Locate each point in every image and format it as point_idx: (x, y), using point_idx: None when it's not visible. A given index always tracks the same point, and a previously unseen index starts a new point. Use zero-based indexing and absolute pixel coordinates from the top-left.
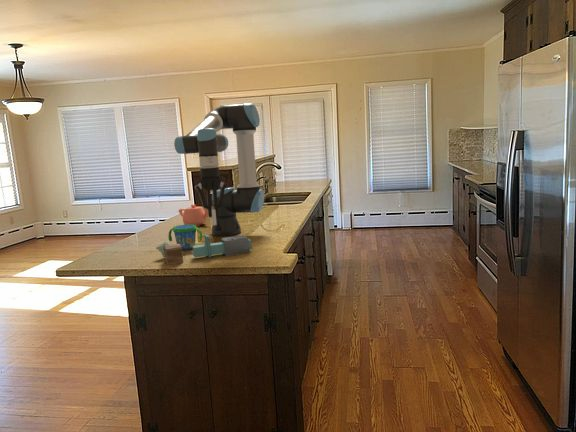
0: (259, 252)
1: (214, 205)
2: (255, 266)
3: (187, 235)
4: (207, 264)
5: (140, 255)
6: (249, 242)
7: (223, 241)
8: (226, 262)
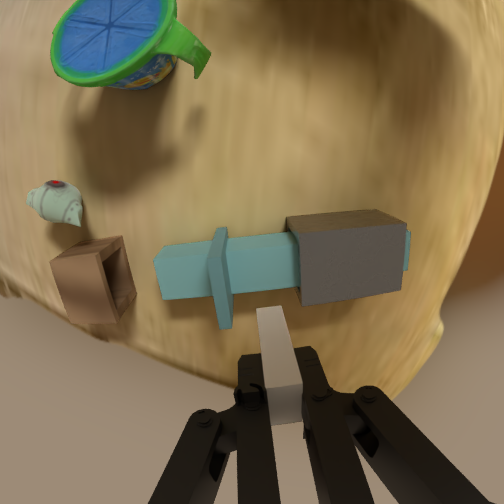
0: None
1: (313, 416)
2: None
3: (125, 81)
4: (217, 348)
5: (12, 128)
6: None
7: (299, 277)
8: None
